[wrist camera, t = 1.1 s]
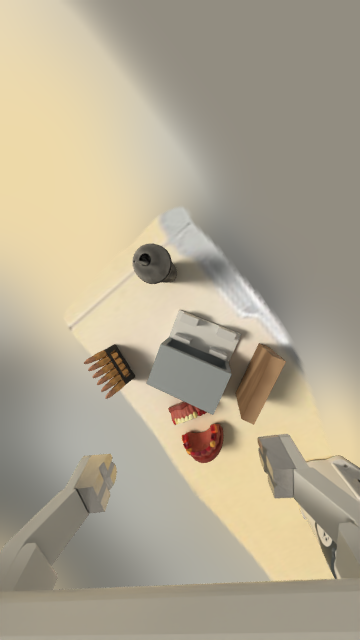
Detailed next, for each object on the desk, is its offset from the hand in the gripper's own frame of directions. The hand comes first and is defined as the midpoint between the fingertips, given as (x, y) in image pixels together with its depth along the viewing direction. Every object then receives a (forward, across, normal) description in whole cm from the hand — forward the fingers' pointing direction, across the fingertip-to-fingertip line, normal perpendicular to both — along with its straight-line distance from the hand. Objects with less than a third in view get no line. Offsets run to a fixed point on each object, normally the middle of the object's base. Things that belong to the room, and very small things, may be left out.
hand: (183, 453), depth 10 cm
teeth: (+32, -2, -29) cm, 43 cm away
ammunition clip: (+37, -20, -12) cm, 44 cm away
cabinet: (+34, +1, -12) cm, 36 cm away
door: (+32, +13, -18) cm, 39 cm away
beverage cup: (+39, -3, +9) cm, 40 cm away
